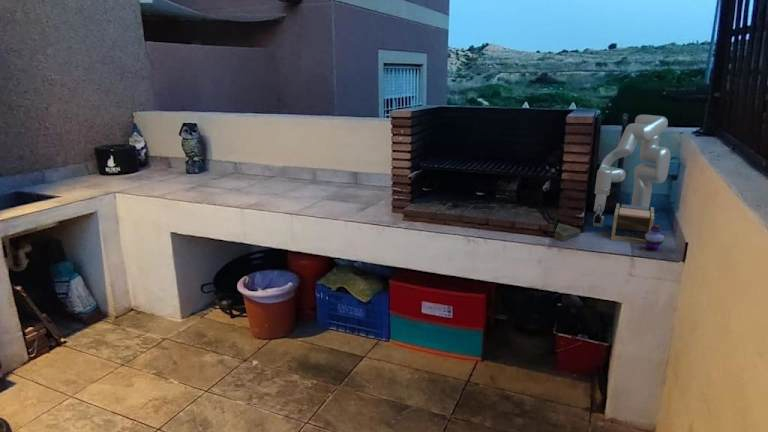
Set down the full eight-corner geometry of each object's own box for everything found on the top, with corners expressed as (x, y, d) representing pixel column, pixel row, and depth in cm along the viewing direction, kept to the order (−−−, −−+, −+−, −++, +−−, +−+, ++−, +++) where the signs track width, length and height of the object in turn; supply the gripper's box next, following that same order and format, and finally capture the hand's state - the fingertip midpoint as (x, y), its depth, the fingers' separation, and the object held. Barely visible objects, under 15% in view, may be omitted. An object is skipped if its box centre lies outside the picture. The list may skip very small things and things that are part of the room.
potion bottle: (664, 252, 239) (668, 228, 235) (644, 250, 241) (648, 227, 237) (660, 246, 247) (664, 223, 243) (640, 245, 249) (644, 222, 245)
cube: (593, 223, 283) (594, 215, 282) (603, 224, 281) (604, 216, 280) (592, 225, 279) (593, 217, 278) (602, 227, 277) (603, 218, 276)
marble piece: (562, 242, 254) (563, 234, 253) (539, 234, 266) (540, 227, 264) (582, 236, 263) (583, 228, 262) (559, 229, 275) (560, 221, 273)
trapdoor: (619, 211, 271) (620, 204, 270) (649, 214, 265) (650, 207, 264) (617, 219, 256) (618, 212, 255) (649, 223, 250) (650, 215, 249)
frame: (613, 226, 278) (617, 202, 274) (649, 231, 270) (653, 206, 266) (610, 239, 257) (614, 213, 253) (650, 245, 249) (654, 218, 245)
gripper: (596, 187, 284) (592, 216, 288) (593, 193, 269) (589, 223, 274) (610, 188, 280) (606, 218, 285) (608, 195, 266) (604, 225, 270)
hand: (598, 220), depth 279 cm, fingers open, 9 cm apart
